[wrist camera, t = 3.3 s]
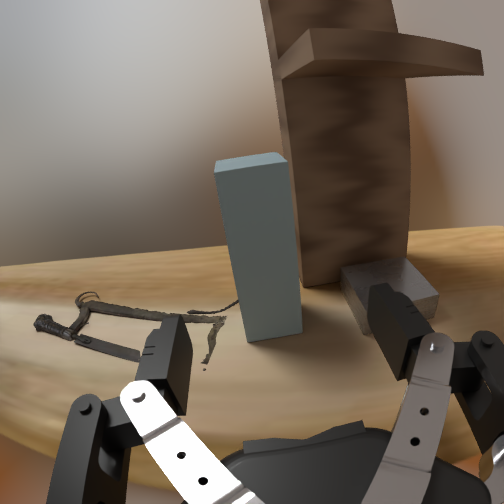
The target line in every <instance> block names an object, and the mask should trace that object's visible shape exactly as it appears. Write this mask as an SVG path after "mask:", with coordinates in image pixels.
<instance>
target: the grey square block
mask: <svg viewBox="0 0 504 504" xmlns="http://www.w3.org/2000/svg"><path fill="white" fill-rule="evenodd" d="M386 282H387V283H388V284H389V285H390V286H391V287H392V289H393V290H394V291H395V292H399V291H400V292H401V293H403V294H405V295H406V296H408V297H409V298H410V299H411V301H412V302H413V303H414V306H416V307H417V309H418V310H419V312H420V313H421V314H422V315H423V317H424V318H425V319H430V318H433V317H434V315H435V311H436V307H437V303H438V298H439V293H438V292H437V291H436V290H435V289H434V288H433V286H432V285H431V284H430V283H429V282H428V281H427V280H426V279H425V278H424V277H423V275H422V274H421V273H420V272H419V271H418V270H417V269H416V268H415V267H414V266H413V265H412V264H411V263H410V262H409V261H408V259H407V258H406V257H405V256H403V257H398V258H392V259H387V260H381V261H375V262H370V263H364V264H358V265H352V266H346V267H341V291H342V293H343V295H344V297H345V299H346V301H347V303H348V305H349V307H350V309H351V311H352V313H353V315H354V317H355V319H356V321H357V323H358V325H359V327H360V329H361V331H362V333H363V335H367V334H371V333H372V331H371V329H370V327H369V324H368V320H367V309H368V298H369V288H370V286H371V285H376V284H381V283H386Z"/></svg>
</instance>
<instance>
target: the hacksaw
mask: <svg viewBox="0 0 504 504" xmlns="http://www.w3.org/2000/svg"><path fill="white" fill-rule="evenodd" d="M86 293H95V292H85V293H83V294H81V295H79V296H78V297H77V298H76V300H75V303H76V305H78V306H80V308H81V309H80V314H79V317H78V319H77V320H76V321H75V322H74V323H73V324H72V325H71V326H70V327H69V328H68V327H64V326H62V325H60V324H58V323H56V322H54V321H52V316H50V315H46V314H41V315H39V316H38V317H37V319H36V321H35V322H34V326H35V328H36V330H37V331H40V330H42V331H45V332H48V333H51V334H54V335H57V336H59V337H62V338H63V339H64V338H65V339H67V340H70V341H71V340H72V339H75V341H74V342H75V343H78V344H81V345H84V346H87V347H88V348H89V347H90V348H91V349H95V350H98V351H101V352H103V353H107V354H110V355H114V356H116V357H120V358H124V359H126V360H130V361H134V362H140V359H141V357H140V351H138V350H135V349H131V348H127V347H123V346H120V345H116V344H113V343H109V342H106V341H102V340H99V339H96V338H92V337H89V336H86V335H83V334H81V335H80V336H78V335H77V331H78V330H79V329H80V328H81V326H82V325H85V324H84V323H85V322H86V320H87V318H88V316H89V312H90V311H95V312H101V313H106V314H112V315H118V316H124V317H130V318H137V319H146V320H153V321H162V320H163V317H164V316H173V315H182V317H183V319H184V322H185V323H191V322H192V323H216V324H217V323H218V322H219V323H218V324H217V325H215V324H213V328H212V329H211V331H210V333H209V335H208V345H209V354H206V358H205V359H204V360H203V361H204V362H201V363H203V364H208V362H209V359H210V357H211V354H212V352H213V349H214V347H215V345H216V335H217V333H218V331H219V329H220V328H221V327H222V326H223V325H224V323H222V322H224V321H223V320H224V319H225V320H226V317H227V316H223V317H221V316H213V317H208V316H204V315H202V316H196V315H186V314H175V313H173V314H172V313H170V314H167V313H165V312H162V313H161V312H157V311H148V310H144V309H142V310H141V309H139V308H135V309H132V308H130V307H125V306H119V305H113V304H108V303H104V302H98V301H94V300H91V301H89V302H85V303H84V302H83V301H82V303H80V302H79V298H80V297H81V296H82V295H84V294H86ZM95 294H96V295H97V293H95ZM97 297H98V295H97ZM98 298H99V297H98ZM238 302H239V300H237V301H236V302H233V303H232V304H231V305H229V306H228V307H225V309H221V310H220V311H212V312H204V311H195V310H190V311H188V312H187V313H189V314H215V313H218V312H222V311H225V310H226V309H228V308H230V307H232V306H234V305H235V304H237V303H238ZM224 317H225V318H224ZM88 323H89V322H88ZM88 323H86V324H88ZM205 370H206V369H203V371H205Z"/></svg>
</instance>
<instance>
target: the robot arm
mask: <svg viewBox="0 0 504 504" xmlns="http://www.w3.org/2000/svg"><path fill="white" fill-rule="evenodd" d="M367 320H368V324H369V327H370V329H371V331H372V333H373V335H374V337H375V339H376V340H377V342H378V344H379V346H380V348H381V350H382V352H383V354H384V356H385V358H386V360H387V362H388V364H389V366H390V368H391V370H392V372H393V374H394V376H395V378H396V380H397V381H399V380H402V379H407V381H408V385H407V388H406V391H405V394H404V397H403V400H402V403H401V406H400V409H399V412H398V415H397V417H396V420H395V423H394V425H393V428H392V430H391V432H390V431H387V430H383V429H378V428H365V427H364V424H363V421H362V420H361V421H357V422H353V423H349V424H345V425H341V426H336V427H333V428H331V429H329V430H326V431H324V432H322V433H320V434H317V435H315V436H313V437H310V438H308V439H304V440H300V439H281V438H268V439H260V440H251V441H243V449H242V450H239V451H236V452H234V453H232V454H230V455H228V456H227V457H225V458H224V459H222V460H221V461H220V462H219V461H218V460H217V459H216V457H215V456H214V455H213V454H212V453H211V452H210V451H209V450H208V449H207V448H206V447H205V446H204V444H203V443H202V442H201V441H200V440H199V439H198V438H197V437H196V435H195V434H194V433H193V432H192V431H191V430H190V429H189V427H188V426H187V425H186V424H185V423H184V421H183V420H182V419H181V418H178V417H177V416H186V410H187V401H188V391H189V382H190V374H191V365H192V357H193V348H192V343H191V339H190V337H189V334H188V331H187V328H186V325H185V322H184V319H183V317H182V315H173V316H164V317H163V320H162V323H161V327H160V329H154V330H153V331H152V332H151V333H150V335H149V336H148V337H147V339H146V343H145V346H144V349H143V353H142V356H141V359H140V363H139V366H138V370H137V373H136V377H135V381H134V382H132V383H130V384H129V385H127V386H126V387H125V388H124V389H123V391H122V392H121V395H120V396H119V397H116V398H113V399H109V400H105V401H101V400H100V399H99V398H98V397H97V396H96V395H93V394H86V395H82V396H80V397H79V398H77V399H76V400H75V401H74V402H73V404H72V406H71V409H70V412H69V415H68V418H67V421H66V425H65V428H64V432H63V435H62V439H61V442H60V446H59V450H58V453H57V457H56V461H55V465H54V469H53V474H52V478H51V482H50V487H49V492H48V497H47V502H46V504H125V502H126V490H127V480H128V471H129V462H130V454H131V447H134V446H138V445H142V444H145V445H146V447H147V448H148V450H149V451H150V453H151V454H152V456H153V457H154V459H155V460H156V461H157V463H158V464H159V466H160V467H161V468H162V470H163V471H164V473H165V474H166V475H167V477H168V478H169V479H170V481H171V482H172V483H173V485H174V486H175V487H176V488H177V490H178V491H179V492H180V494H181V495H182V496H183V497H184V499H185V500H184V501H183V502H182V503H181V504H502V503H503V502H504V345H503V343H502V342H501V341H500V339H499V338H498V337H497V336H496V335H495V334H494V333H492V332H489V331H478V332H476V333H475V334H474V335H473V336H472V339H471V341H470V342H453V341H452V339H451V338H450V337H448V336H447V335H445V334H442V333H435V331H434V330H433V329H432V327H431V326H430V325H429V323H428V322H427V321H426V319H425V318H424V317H423V315H422V314H421V313H420V312H419V310H418V309H417V307H416V306H414V303H413V302H412V301H411V299H410V298H409V297H408V296H406V295H405V294H403V293H401V292H400V291H399V292H395V291H394V290H393V289H392V287H391V286H390V285H389V284H388V283H387V282H386V283H381V284H376V285H371V286H370V288H369V298H368V309H367ZM484 381H485V382H486V383H485V382H484ZM486 384H487V385H488V387H489V389H490V390H489V389H488V387H487V385H486ZM490 391H491V392H490ZM450 393H454V394H455V396H456V398H457V400H458V402H459V404H460V406H461V408H462V411H463V413H464V415H465V417H466V419H467V421H468V423H469V425H470V428H471V430H472V432H473V434H474V437H475V439H476V441H477V443H478V446H479V448H480V450H481V453H482V457H481V459H480V462H479V477H480V479H479V478H478V477H476V476H474V475H472V474H470V473H468V472H466V471H464V470H462V469H460V468H458V467H456V466H454V465H452V464H450V463H448V462H446V461H444V460H442V459H440V458H438V457H436V456H435V455H436V452H437V449H438V445H439V441H440V438H441V434H442V430H443V426H444V422H445V418H446V413H447V408H448V404H449V399H450ZM491 393H492V394H491Z"/></svg>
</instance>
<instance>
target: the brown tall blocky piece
mask: <svg viewBox="0 0 504 504" xmlns="http://www.w3.org/2000/svg"><path fill="white" fill-rule="evenodd" d="M260 3H261V9H262V14H263V20H264V26H265V31H266V37H267V43H268V49H269V55H270V62H271V68H272V75H273V80H274V88H275V94H276V102H277V108H278V115H279V123H280V130H281V138H282V146H283V154H284V159H286V160H287V161H288V167H289V176H290V185H291V194H292V204H293V214H294V224H295V235H296V246H297V258H298V270H299V277H300V280H301V283H302V285H303V287H309V286H315V285H321V284H327V283H332V282H338V281H341V267H346V266H352V265H358V264H364V263H370V262H375V261H381V260H387V259H392V258H398V257H403V256H405V257H406V254H407V243H408V230H409V213H410V175H411V171H410V170H411V169H410V168H411V167H410V166H411V163H410V130H409V115H408V102H407V91H406V82H405V78H415V77H430V76H456V75H481V76H483V75H484V72H483V64H482V57H481V51H480V50H478V49H474V48H470V47H466V46H463V45H459V44H455V43H450V42H446V41H441V40H436V39H431V38H426V37H420V36H414V35H408V34H401V33H398V29H397V24H396V19H395V14H394V10H393V5H392V1H391V0H260Z"/></svg>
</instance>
